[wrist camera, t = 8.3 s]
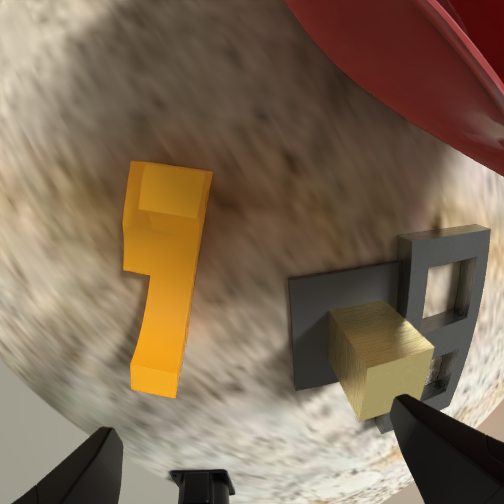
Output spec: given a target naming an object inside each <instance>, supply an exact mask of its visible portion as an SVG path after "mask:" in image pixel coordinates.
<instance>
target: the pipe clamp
mask: <svg viewBox="0 0 504 504" xmlns="http://www.w3.org/2000/svg"><path fill="white" fill-rule="evenodd" d="M212 175H213V172H211V171H205V170H199V169H193V168H187V167H180V166H173V165H167V164H159V163H152V162H143V161H131V164H130V170H129V177H128V183H127V190H126V198H125V206H124V214H123V224H122V226H123V233H124V265H123V270H125V271H130V272H135V273H140V274H145V275H150V282H149V289H148V296H147V302H146V308H145V313H144V318H143V323H142V327H141V331H140V335H139V339H138V343H137V346H136V350H135V353H134V355H133V358H132V361H131V363H130V372H131V389H132V390H136V391H141V392H145V393H150V394H155V395H160V396H165V397H170V398H176V393H177V388H178V382H179V377H180V372H181V367H182V362H183V357H184V352H185V347H186V342H187V336H188V327H189V319H190V312H191V304H192V297H193V289H194V282H195V275H196V269H197V262H198V256H199V249H200V243H201V237H202V231H203V225H204V219H205V213H206V208H207V202H208V197H209V191H210V186H211V181H212Z"/></svg>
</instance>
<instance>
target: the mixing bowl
mask: <svg viewBox="0 0 504 504" xmlns="http://www.w3.org/2000/svg"><path fill="white" fill-rule="evenodd" d="M284 1H285V3H286V4H287V5H288V7H289V8H290V10H291V11H292V12H293V14H294V15H295V17H296V18H297V20H298V21H299V23H300V24H301V26H302V27H303V29H304V30H305V31H306V32H307V34H308V35H309V36H310V37H311V38H312V39H313V41H314V42H315V43H316V44H317V45H318V46H319V47H320V48H321V50H322V51H323V52H324V53H325V54H326V55H327V57H328V58H329V59H330V60H331V61H332V62H333V63H334V64H335V65H336V66H338V67H339V68H340V69H341V70H342V71H343V72H344V73H345V74H347V75H348V76H349V77H350V78H351V79H352V80H353V81H354V82H355V83H356V84H358V85H359V86H360V87H361V88H363V89H364V90H365V91H367V92H368V93H370V94H371V95H372V96H374V97H375V98H377V99H378V100H379V101H381V102H382V103H383V104H385V105H386V106H387V107H389V108H390V109H392V110H393V111H395V112H396V113H398V114H399V115H401V116H402V117H404V118H405V119H407V120H408V121H410V122H411V123H413V124H414V125H416V126H418V127H420V128H421V129H423V130H425V131H426V132H428V133H430V134H431V135H433V136H435V137H436V138H438V139H440V140H441V141H443V142H445V143H446V144H448V145H450V146H451V147H453V148H454V149H456V150H458V151H460V152H461V153H463V154H465V155H466V156H468V157H470V158H471V159H473V160H475V161H476V162H478V163H480V164H482V165H484V166H486V167H487V168H489V169H491V170H493V171H495V172H496V173H498V174H500V175H501V176H503V177H504V0H284Z"/></svg>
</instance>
